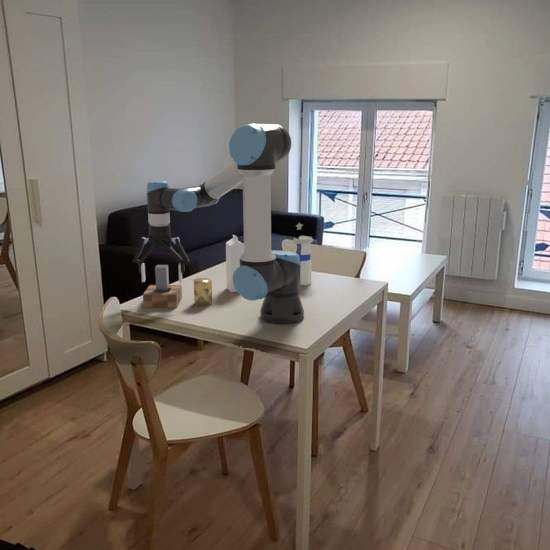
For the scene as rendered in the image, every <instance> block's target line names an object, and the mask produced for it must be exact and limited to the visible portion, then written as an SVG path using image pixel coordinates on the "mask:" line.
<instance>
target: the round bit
mask: <svg viewBox="0 0 550 550" xmlns="http://www.w3.org/2000/svg"><path fill="white" fill-rule="evenodd" d="M212 283H213V281H212V279H211V278H207V277H199V278H194V279H193V301H194V302H193V304H194V306H197V307H203V308H204V307H210V306H211V305H213V287H212V286H213V285H212Z"/></svg>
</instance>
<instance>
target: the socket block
mask: <svg viewBox="0 0 550 550" xmlns="http://www.w3.org/2000/svg"><path fill="white" fill-rule="evenodd" d="M182 289H183V288H182V284H169V292H156V284H149V285H148V287H147V288H146V290H144V292H143V294H142V299H143V300H142V302H143V305H142V306H143V308H144V309H146V308H152V309H153V308H154V309H155V308H156V309H158V308H160V309H161V308H162V309H166V308H167V309H177V308H178V307H179V305H180V302H181V301H182V299H183V294H182V293H183V291H182Z"/></svg>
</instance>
